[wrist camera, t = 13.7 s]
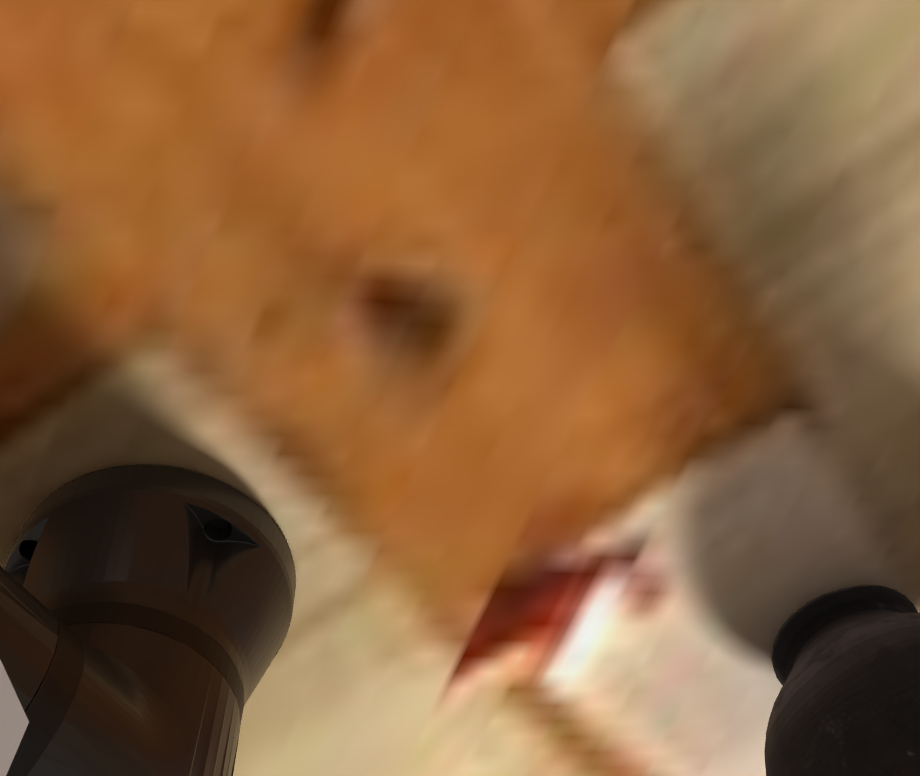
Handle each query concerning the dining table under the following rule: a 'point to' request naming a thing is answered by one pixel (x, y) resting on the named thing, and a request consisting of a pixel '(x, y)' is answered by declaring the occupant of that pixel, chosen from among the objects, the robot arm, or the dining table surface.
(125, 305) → the dining table surface
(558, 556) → the dining table surface
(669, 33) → the dining table surface
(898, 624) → the pitcher
